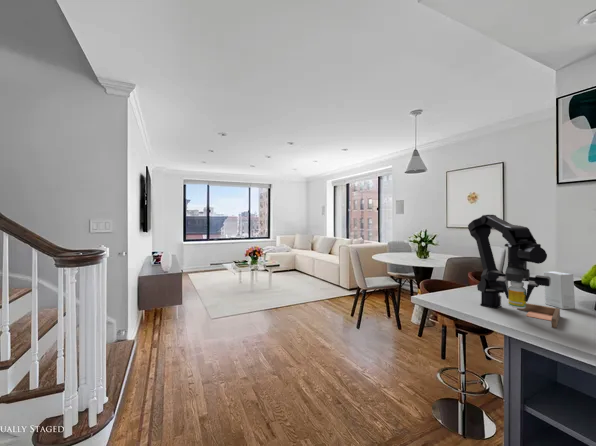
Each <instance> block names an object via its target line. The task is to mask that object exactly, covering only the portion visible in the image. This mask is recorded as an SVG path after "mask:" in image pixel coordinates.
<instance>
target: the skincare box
mask: <svg viewBox="0 0 596 446" xmlns="http://www.w3.org/2000/svg"><path fill="white" fill-rule="evenodd" d="M543 276H549V277H550V278H551V284H550V286H544V298H545V301H544V302H545V305H548V306H550V307H554V308H559V309H560V310H561V309H562V310H575V309H576V300H575V298H576V297H575V296H576V295H575V283H574V279H575V278H574V273H567V272H560V271H554V270H553V271H543Z"/></svg>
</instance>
